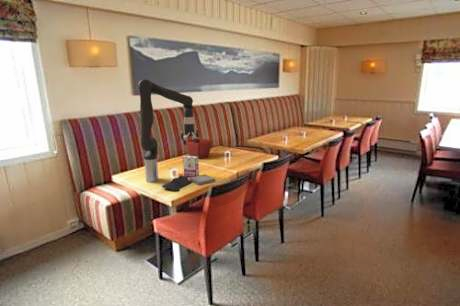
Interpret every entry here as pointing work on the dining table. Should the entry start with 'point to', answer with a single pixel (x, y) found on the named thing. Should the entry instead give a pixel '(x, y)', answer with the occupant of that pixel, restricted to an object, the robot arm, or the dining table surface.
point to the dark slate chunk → (177, 183)
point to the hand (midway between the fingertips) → (190, 144)
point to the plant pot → (199, 147)
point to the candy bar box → (191, 166)
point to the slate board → (201, 179)
